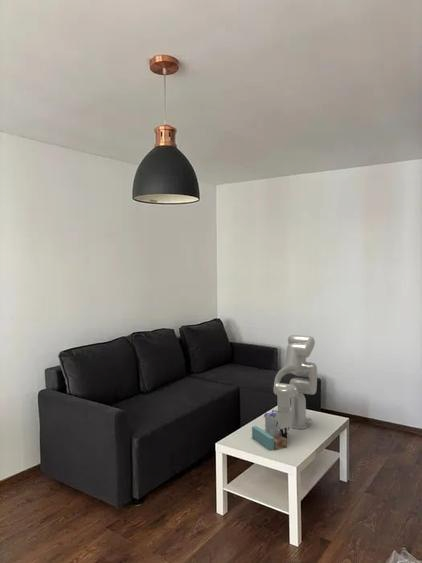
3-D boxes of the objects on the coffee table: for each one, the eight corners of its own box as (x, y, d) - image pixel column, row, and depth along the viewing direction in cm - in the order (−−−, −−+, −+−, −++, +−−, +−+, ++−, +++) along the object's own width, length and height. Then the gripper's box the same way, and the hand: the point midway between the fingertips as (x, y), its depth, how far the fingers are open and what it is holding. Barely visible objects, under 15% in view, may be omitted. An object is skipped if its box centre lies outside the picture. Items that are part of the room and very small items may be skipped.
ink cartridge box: (283, 433, 267) (282, 411, 266) (279, 437, 262) (279, 414, 261) (268, 430, 272) (268, 408, 271) (265, 433, 267) (264, 411, 267)
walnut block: (278, 442, 254) (278, 434, 254) (286, 447, 247) (286, 439, 247) (267, 445, 251) (267, 436, 251) (275, 450, 244) (275, 441, 243)
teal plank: (256, 436, 263) (256, 425, 262) (274, 449, 244) (274, 437, 244) (252, 437, 261) (252, 426, 261) (270, 450, 243) (270, 438, 243)
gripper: (290, 404, 258) (290, 433, 259) (269, 409, 251) (270, 439, 252) (298, 408, 251) (298, 438, 252) (277, 413, 244) (277, 443, 245)
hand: (284, 438), depth 252 cm, fingers closed
